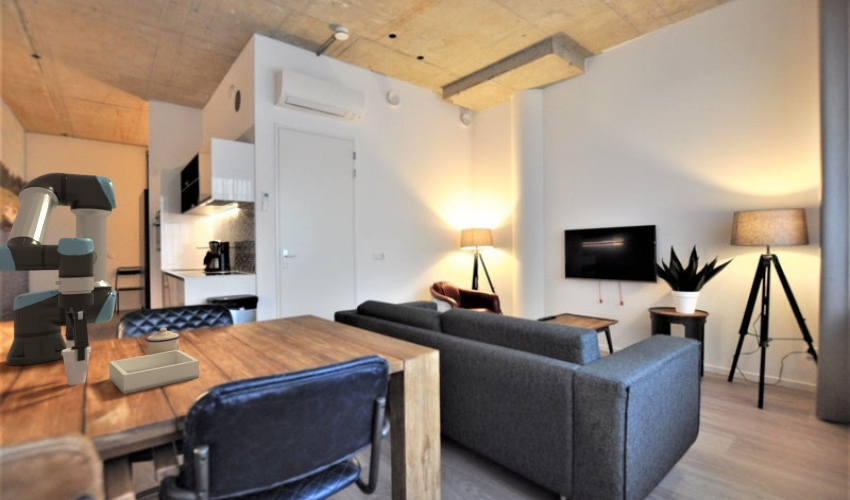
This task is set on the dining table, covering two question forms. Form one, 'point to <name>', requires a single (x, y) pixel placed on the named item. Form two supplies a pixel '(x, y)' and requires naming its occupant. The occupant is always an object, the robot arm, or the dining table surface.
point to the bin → (152, 370)
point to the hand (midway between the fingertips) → (76, 367)
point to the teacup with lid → (162, 342)
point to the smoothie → (69, 367)
